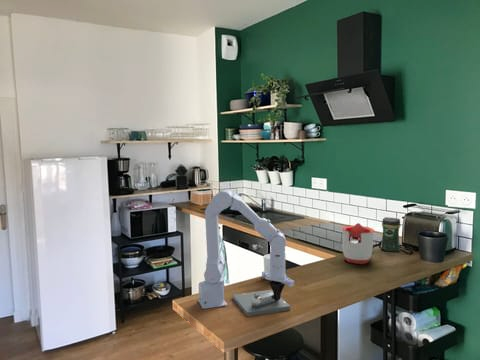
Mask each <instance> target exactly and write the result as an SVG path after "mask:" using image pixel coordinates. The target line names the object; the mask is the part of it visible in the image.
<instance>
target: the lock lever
mask: <svg viewBox="0 0 480 360" xmlns="http://www.w3.org/2000/svg"><path fill="white" fill-rule="evenodd" d="M273 301H275V299H274V293H273V292H271V293H267V294H264V295H261V296H259V297H258V298H255V297H254V296H252V307H254V308H260V307H261V305H264V304H267V303H270V302H273Z"/></svg>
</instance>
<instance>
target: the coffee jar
mask: <svg viewBox="0 0 480 360" xmlns="http://www.w3.org/2000/svg"><path fill="white" fill-rule="evenodd" d="M400 219H401V218H395V217H387V216H385V217H383V219H382V222H381V227H382V238H381V246H380V248H381V250H382V249H383V250H382V251H386V250H387V252H393V251H394V252H399V251H400V236H399V235H400V228H401V220H400ZM394 252H393V253H394Z"/></svg>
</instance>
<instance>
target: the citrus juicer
mask: <svg viewBox="0 0 480 360" xmlns="http://www.w3.org/2000/svg"><path fill="white" fill-rule="evenodd" d="M341 229H342V239H341V240H342V245H341V246H342V253H343V257H344V259H345V261H347V263H352V264H358V265H359V264H360V265H364V264H367V263H368V264H369V262H370V260H371V256H372V254H373V247H374V232H375V229H374V228H372V227H369V226H364V225H363V226H362V225H361V223H359V222H357V223H356V224H355V225H346V226H342V228H341Z"/></svg>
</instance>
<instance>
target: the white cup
mask: <svg viewBox="0 0 480 360" xmlns="http://www.w3.org/2000/svg"><path fill="white" fill-rule="evenodd" d="M264 271H268V272H270V253H269V254H265V255H263V272H264ZM264 279H265V280H268V281H272V280H271V279H269V278H266V277H264Z"/></svg>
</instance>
